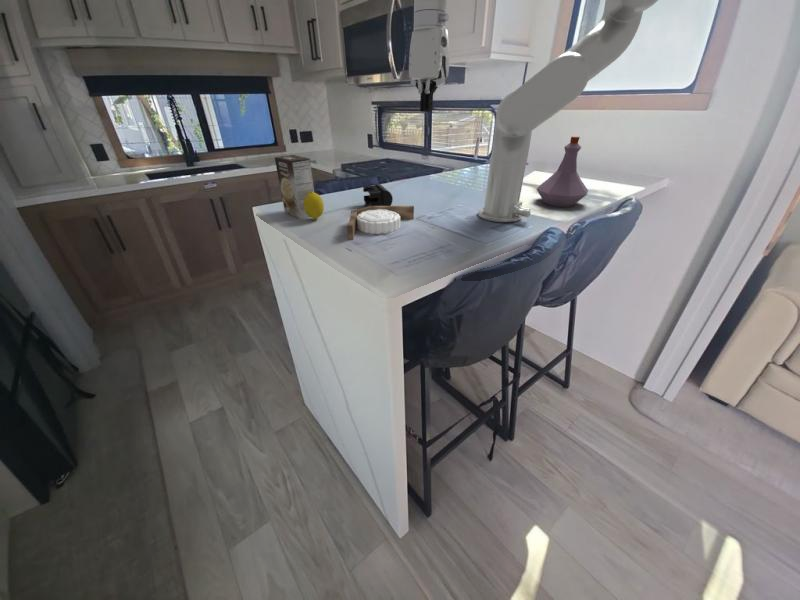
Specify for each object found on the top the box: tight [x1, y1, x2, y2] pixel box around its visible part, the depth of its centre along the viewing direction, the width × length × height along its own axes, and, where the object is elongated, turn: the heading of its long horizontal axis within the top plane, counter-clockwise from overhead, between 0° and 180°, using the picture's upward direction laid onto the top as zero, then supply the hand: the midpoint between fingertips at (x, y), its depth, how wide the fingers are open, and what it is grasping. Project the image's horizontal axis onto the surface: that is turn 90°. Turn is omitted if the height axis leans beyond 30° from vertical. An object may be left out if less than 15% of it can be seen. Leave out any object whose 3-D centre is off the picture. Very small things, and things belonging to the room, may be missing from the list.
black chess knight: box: [362, 182, 394, 207], centre depth 104 cm, size 10×7×7 cm
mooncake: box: [356, 209, 401, 235], centre depth 90 cm, size 12×12×4 cm
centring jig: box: [347, 205, 415, 240], centre depth 91 cm, size 10×24×4 cm, turn 136°
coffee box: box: [274, 154, 315, 220], centre depth 96 cm, size 9×6×16 cm
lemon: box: [304, 191, 325, 220], centre depth 93 cm, size 6×6×8 cm
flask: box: [536, 136, 589, 208], centre depth 105 cm, size 16×16×20 cm
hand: (426, 111), depth 88 cm, fingers closed
